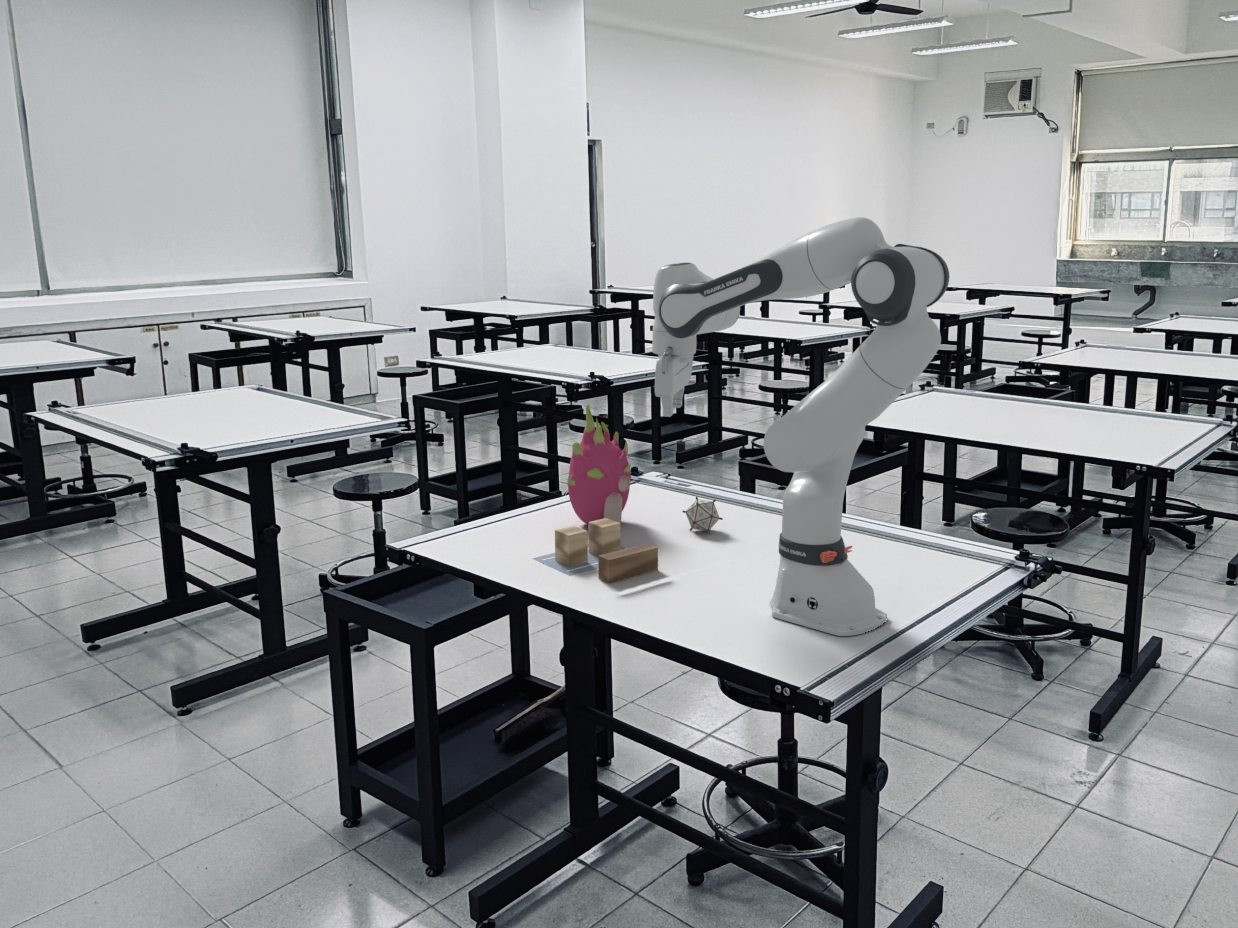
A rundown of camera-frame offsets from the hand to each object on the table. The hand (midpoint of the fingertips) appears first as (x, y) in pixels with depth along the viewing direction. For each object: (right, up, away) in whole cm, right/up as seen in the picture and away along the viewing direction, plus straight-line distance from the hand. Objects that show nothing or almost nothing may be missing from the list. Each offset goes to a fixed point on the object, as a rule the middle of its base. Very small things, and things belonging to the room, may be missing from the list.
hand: (672, 411), depth 210 cm
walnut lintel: (-9, -35, +3) cm, 36 cm away
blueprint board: (-18, -32, +14) cm, 39 cm away
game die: (+9, -27, +34) cm, 45 cm away
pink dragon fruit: (-16, -26, +38) cm, 49 cm away
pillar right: (-14, -30, +16) cm, 37 cm away
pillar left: (-21, -32, +11) cm, 40 cm away
